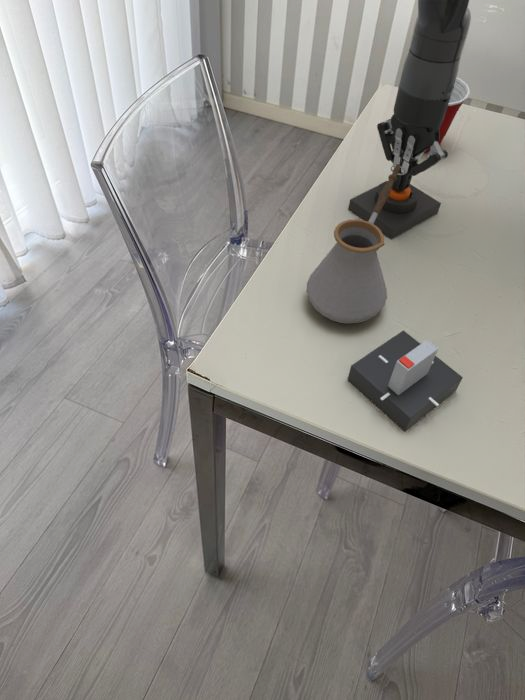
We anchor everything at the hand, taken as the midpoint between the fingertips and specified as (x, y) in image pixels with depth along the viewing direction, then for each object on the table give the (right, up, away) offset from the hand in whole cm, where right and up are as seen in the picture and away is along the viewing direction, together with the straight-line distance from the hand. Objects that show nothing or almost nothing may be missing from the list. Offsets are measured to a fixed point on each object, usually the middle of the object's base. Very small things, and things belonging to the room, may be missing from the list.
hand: (398, 189), depth 94 cm
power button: (0, -1, +1) cm, 2 cm away
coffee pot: (-8, -17, -8) cm, 21 cm away
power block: (0, -3, +4) cm, 5 cm away
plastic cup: (+9, +13, +18) cm, 24 cm away
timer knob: (-5, -30, -24) cm, 39 cm away
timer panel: (-5, -31, -20) cm, 38 cm away
